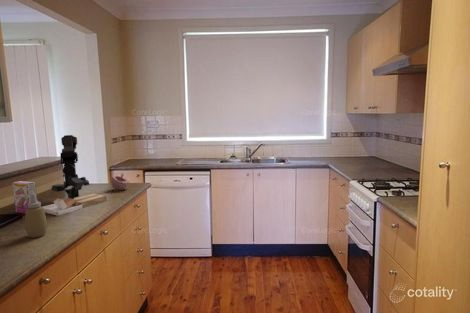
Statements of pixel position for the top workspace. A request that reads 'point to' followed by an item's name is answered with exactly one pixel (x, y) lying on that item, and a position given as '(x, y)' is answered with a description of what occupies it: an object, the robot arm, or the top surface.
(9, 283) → the top surface
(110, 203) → the top surface
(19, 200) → the candy bar box
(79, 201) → the thick wooden platform
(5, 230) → the top surface
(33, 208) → the squeeze bottle
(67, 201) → the tile terracotta
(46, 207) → the tray
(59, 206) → the tile cream
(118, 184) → the mortar and pestle
